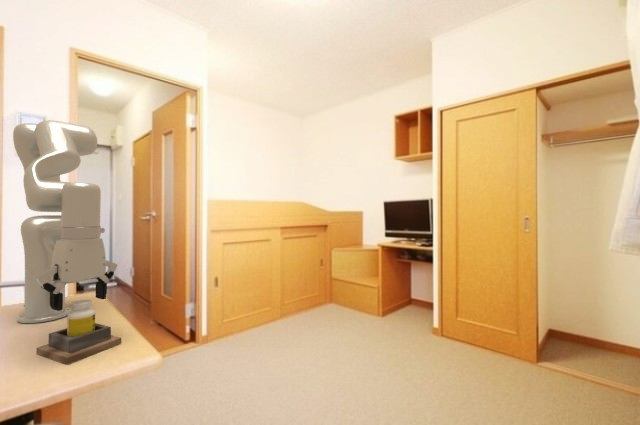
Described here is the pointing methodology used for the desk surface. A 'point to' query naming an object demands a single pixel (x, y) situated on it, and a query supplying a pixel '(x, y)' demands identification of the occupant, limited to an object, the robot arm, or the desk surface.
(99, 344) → the socket stand
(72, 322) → the supplement bottle
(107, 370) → the desk surface
